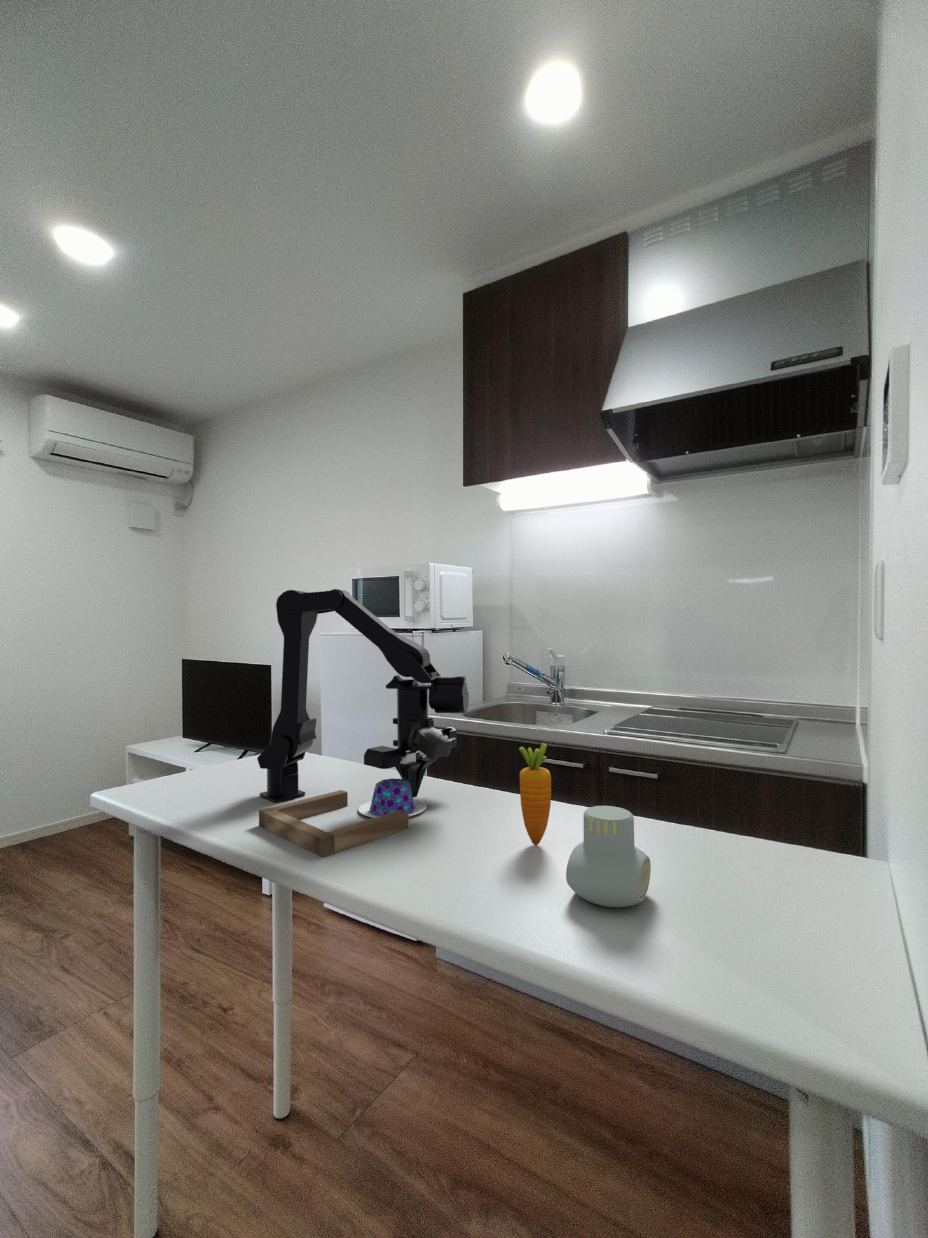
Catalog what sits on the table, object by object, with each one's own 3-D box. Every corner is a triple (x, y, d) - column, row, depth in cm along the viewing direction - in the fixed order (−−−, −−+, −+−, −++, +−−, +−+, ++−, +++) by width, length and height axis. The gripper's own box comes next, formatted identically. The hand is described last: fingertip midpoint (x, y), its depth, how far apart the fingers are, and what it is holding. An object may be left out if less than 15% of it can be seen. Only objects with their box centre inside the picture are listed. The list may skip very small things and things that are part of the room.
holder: (258, 825, 93) (258, 810, 93) (341, 803, 104) (341, 790, 104) (322, 857, 80) (322, 839, 80) (408, 827, 91) (408, 812, 91)
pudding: (347, 821, 96) (347, 789, 96) (372, 800, 108) (372, 772, 108) (415, 825, 94) (415, 793, 94) (433, 803, 105) (433, 774, 105)
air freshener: (634, 926, 61) (633, 832, 61) (560, 908, 65) (560, 820, 65) (653, 885, 70) (652, 805, 70) (588, 872, 74) (587, 796, 75)
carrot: (513, 848, 83) (512, 745, 83) (526, 837, 87) (525, 739, 87) (546, 854, 80) (545, 748, 81) (557, 842, 85) (556, 742, 85)
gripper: (402, 724, 93) (403, 819, 92) (478, 711, 106) (479, 794, 106) (361, 717, 100) (362, 805, 100) (437, 705, 114) (438, 783, 114)
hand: (413, 797), depth 105 cm, fingers closed
